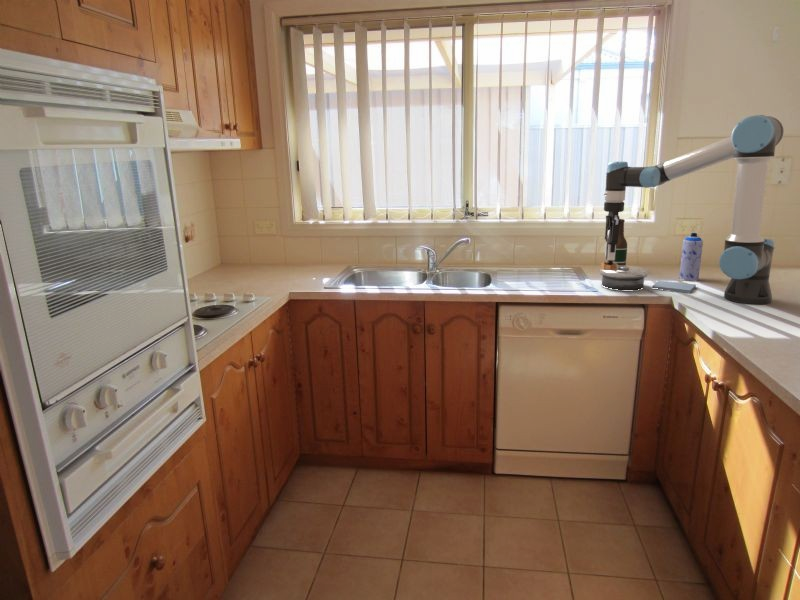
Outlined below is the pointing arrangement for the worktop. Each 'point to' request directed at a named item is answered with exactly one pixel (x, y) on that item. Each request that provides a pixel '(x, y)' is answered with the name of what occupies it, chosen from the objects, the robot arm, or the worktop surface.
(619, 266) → the disc
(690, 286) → the plate
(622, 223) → the beer bottle
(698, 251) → the aerosol can
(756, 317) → the worktop surface
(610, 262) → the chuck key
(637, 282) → the cylinder
